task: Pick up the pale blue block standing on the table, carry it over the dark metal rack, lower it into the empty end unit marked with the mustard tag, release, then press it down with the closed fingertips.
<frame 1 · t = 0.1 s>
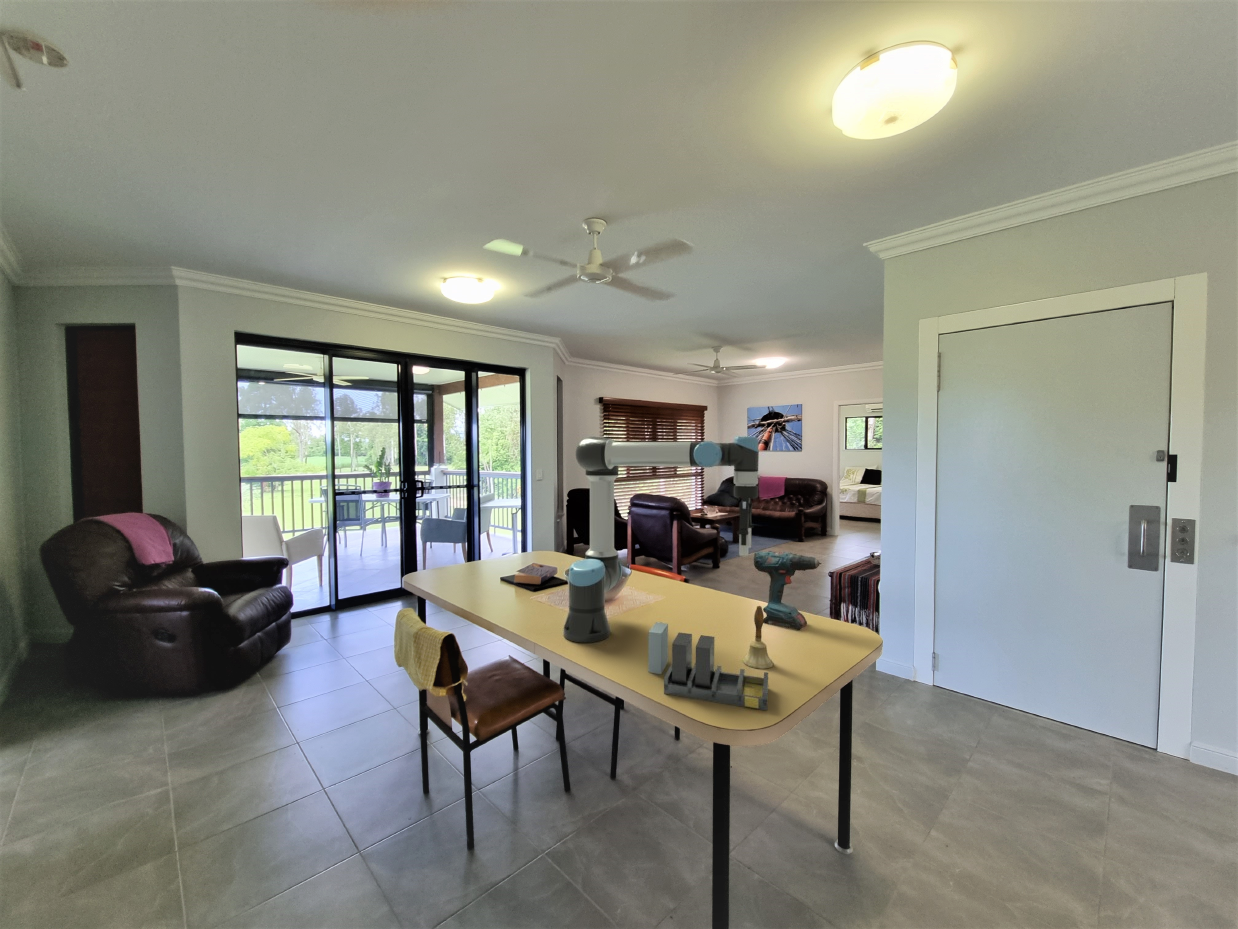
hand: (745, 551, 153), 28 cm above the table, fingers open, 13 cm apart
hand bell: (757, 663, 136), on the table
power drill: (786, 624, 167), on the table
rack: (716, 691, 119), on the table
pale blue block: (658, 667, 133), on the table
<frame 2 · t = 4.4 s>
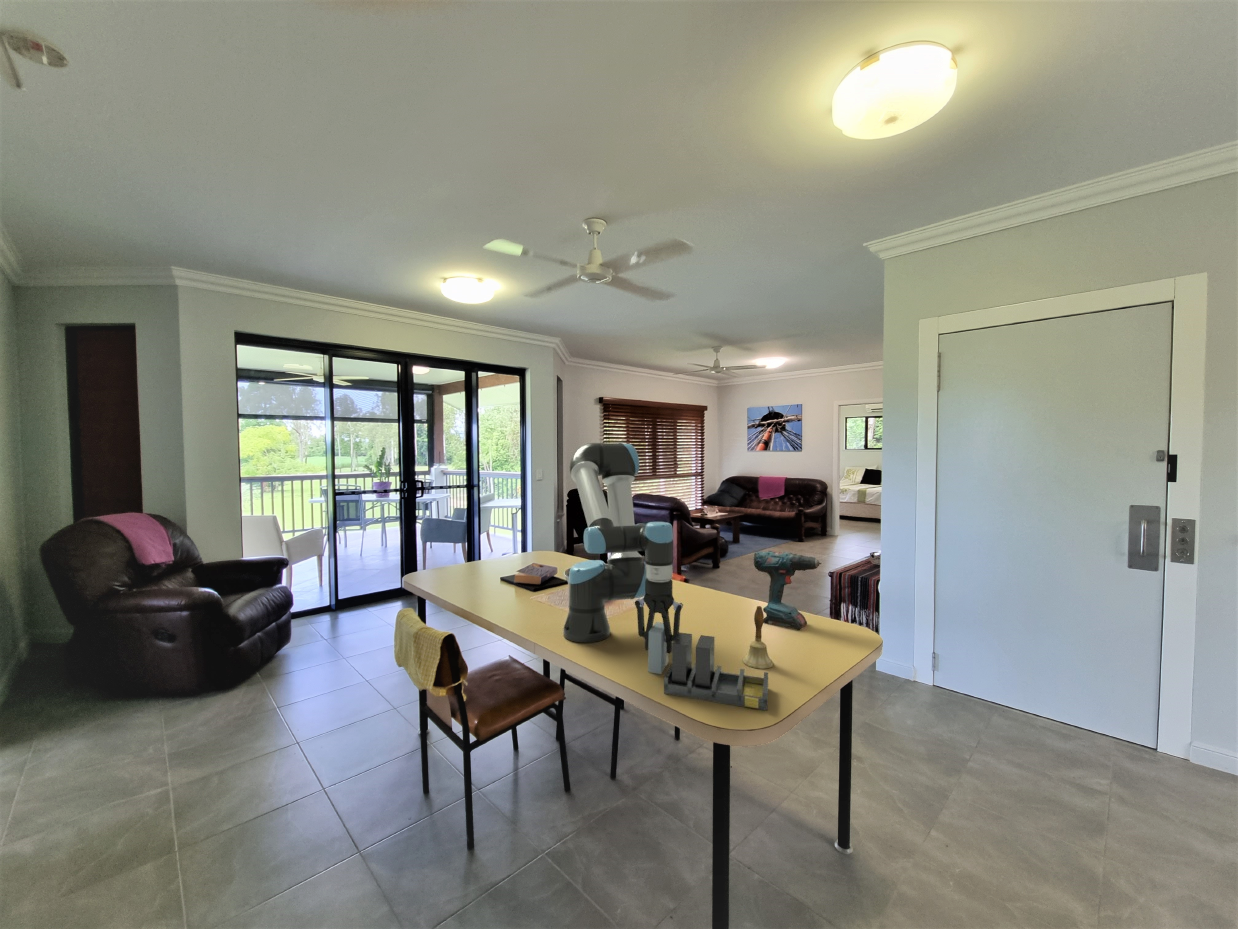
hand: (658, 662, 133), 1 cm above the table, fingers closed on pale blue block, 3 cm apart
pale blue block: (658, 667, 133), on the table, touching gripper
everything else where it was.
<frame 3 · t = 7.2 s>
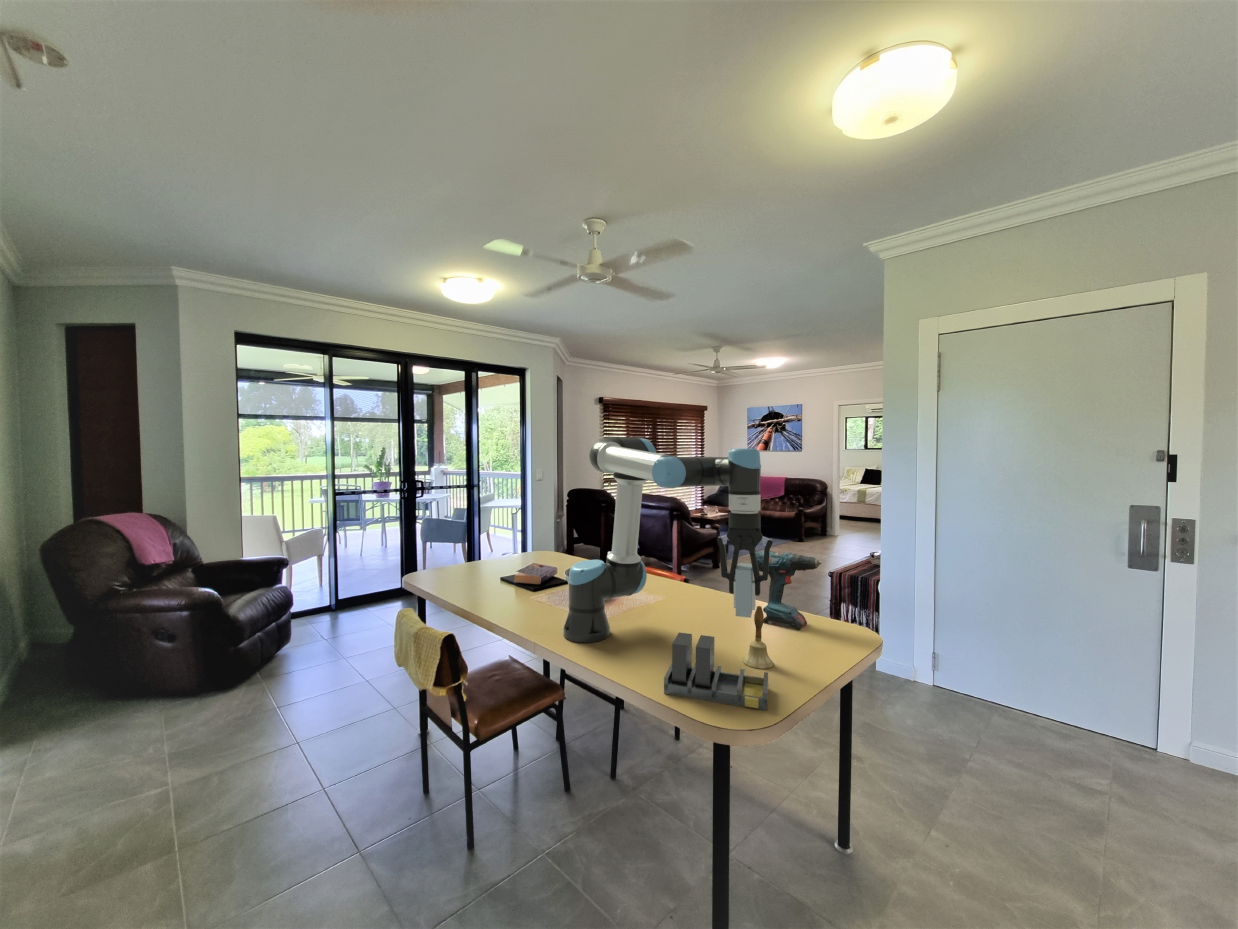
hand: (744, 607, 117), 21 cm above the table, fingers closed on pale blue block, 3 cm apart
pale blue block: (744, 611, 117), point 20 cm above the table, touching gripper
everything else where it was.
when the fingers open (5 cm above the table, at t = 9.9 s): pale blue block drops 3 cm, resting on rack.
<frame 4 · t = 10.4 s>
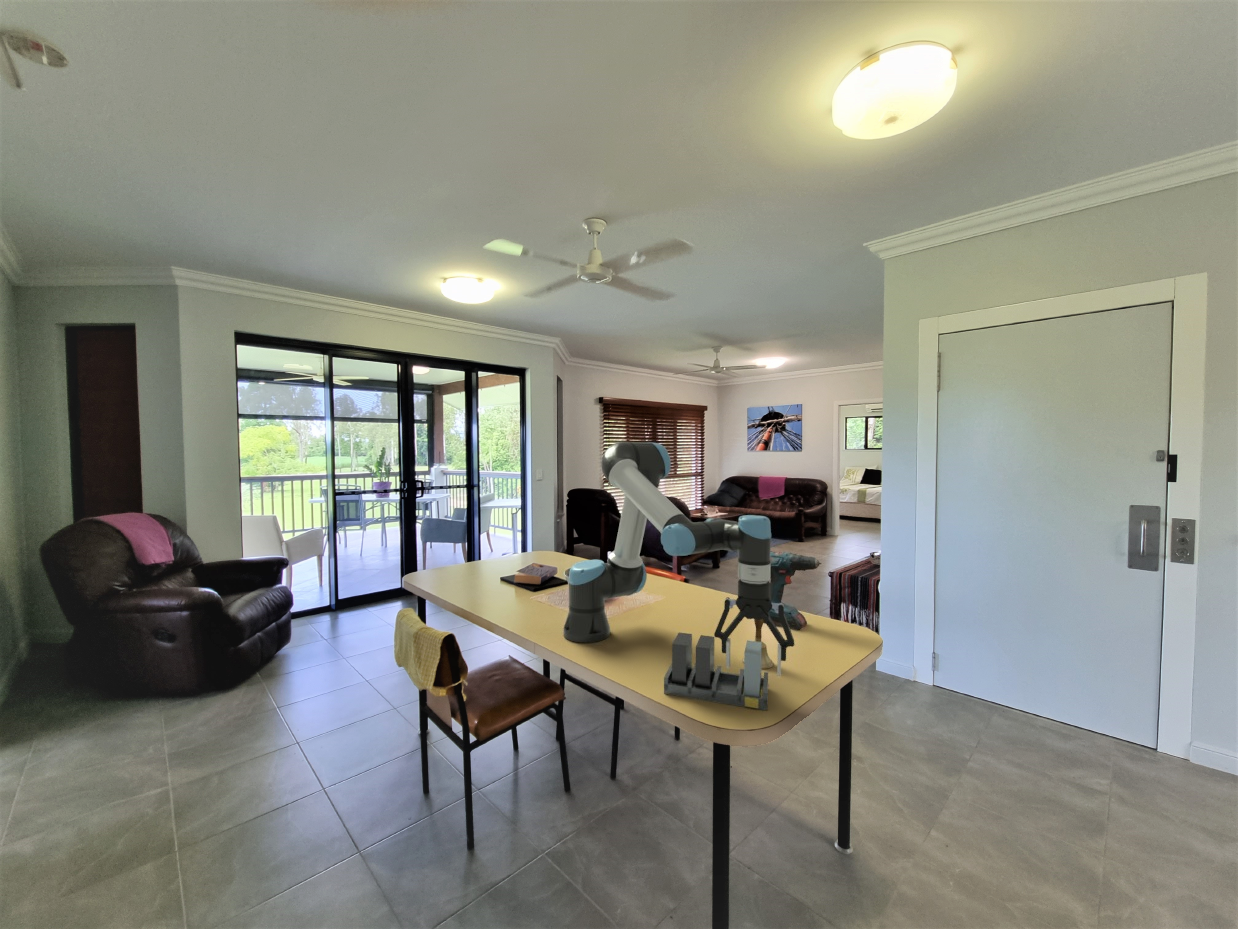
hand: (753, 669, 116), 7 cm above the table, fingers open, 11 cm apart
pale blue block: (752, 692, 116), point 1 cm above the table, touching rack
everything else where it was.
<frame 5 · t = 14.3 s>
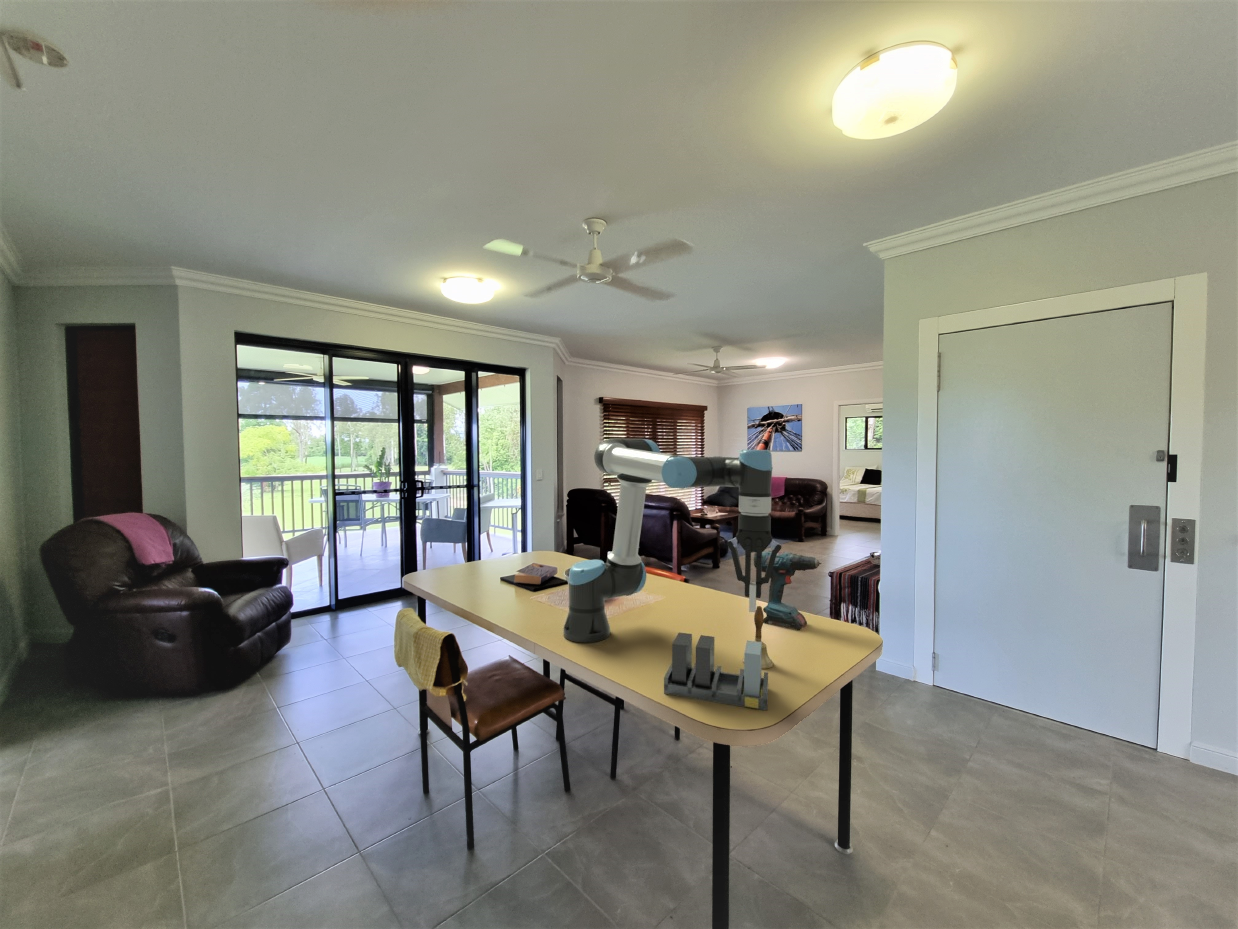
hand: (752, 610, 116), 21 cm above the table, fingers closed
nothing on the table moved.
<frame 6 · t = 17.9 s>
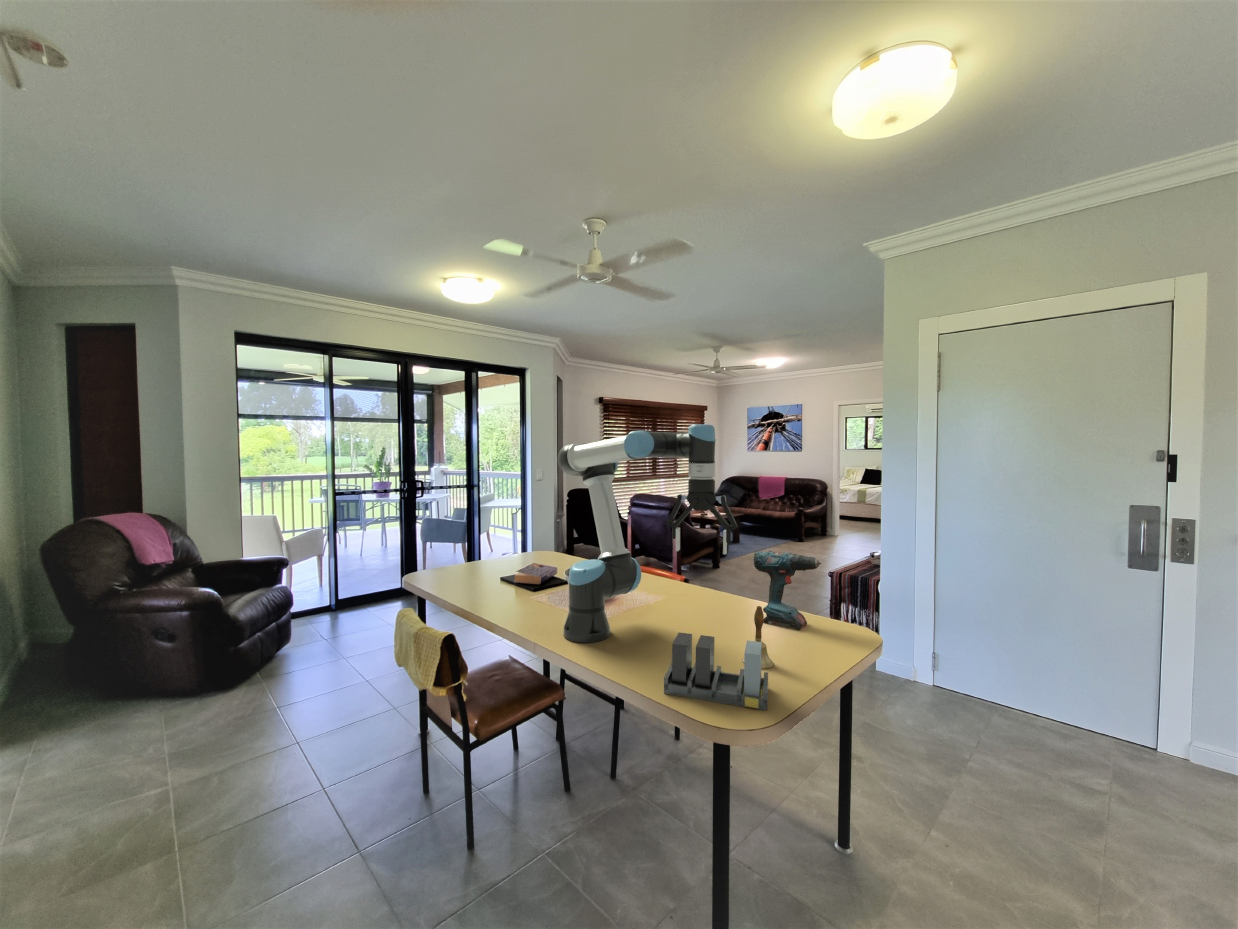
hand: (701, 552, 138), 31 cm above the table, fingers open, 13 cm apart
nothing on the table moved.
at the end: pale blue block 0.1 cm from the target spot on the rack, point 1.1 cm above the rack's base; pale blue block tilted 0°; the gripper is holding nothing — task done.
